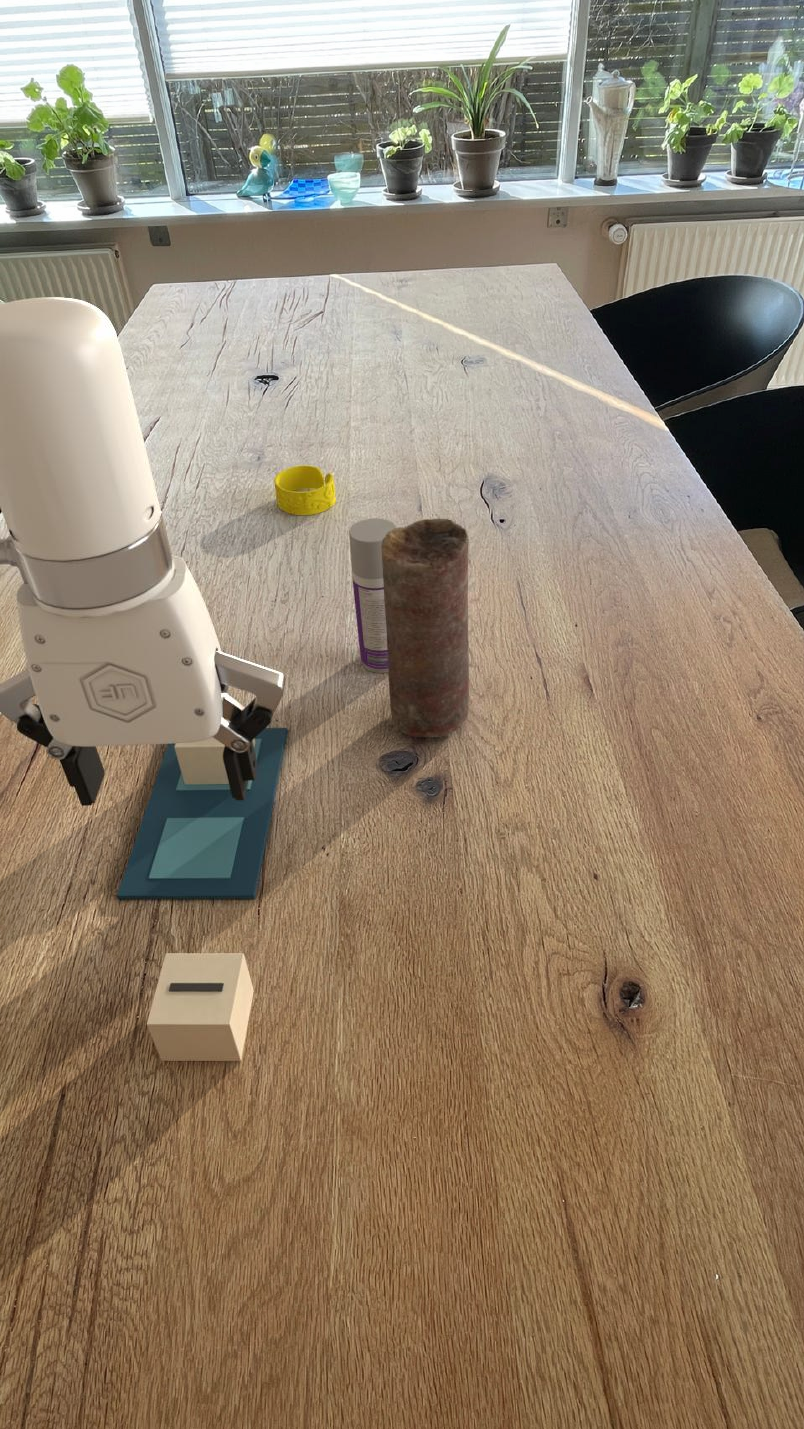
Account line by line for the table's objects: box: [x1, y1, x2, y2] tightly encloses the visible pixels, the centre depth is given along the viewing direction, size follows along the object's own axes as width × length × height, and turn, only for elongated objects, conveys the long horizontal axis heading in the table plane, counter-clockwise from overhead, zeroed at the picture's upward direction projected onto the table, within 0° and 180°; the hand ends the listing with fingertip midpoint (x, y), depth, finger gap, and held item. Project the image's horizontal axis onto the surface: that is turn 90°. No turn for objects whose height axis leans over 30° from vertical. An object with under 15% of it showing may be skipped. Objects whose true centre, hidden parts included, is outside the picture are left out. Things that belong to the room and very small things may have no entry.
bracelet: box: [273, 464, 337, 516], centre depth 124 cm, size 7×8×3 cm
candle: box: [381, 518, 470, 738], centre depth 83 cm, size 8×7×20 cm
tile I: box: [146, 952, 255, 1062], centre depth 65 cm, size 6×6×5 cm
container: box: [348, 517, 397, 674], centre depth 93 cm, size 5×5×15 cm
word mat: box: [116, 727, 288, 901], centre depth 82 cm, size 11×20×1 cm, turn 178°
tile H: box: [174, 704, 255, 785], centre depth 84 cm, size 6×6×5 cm
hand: (168, 787), depth 61 cm, fingers open, 9 cm apart
